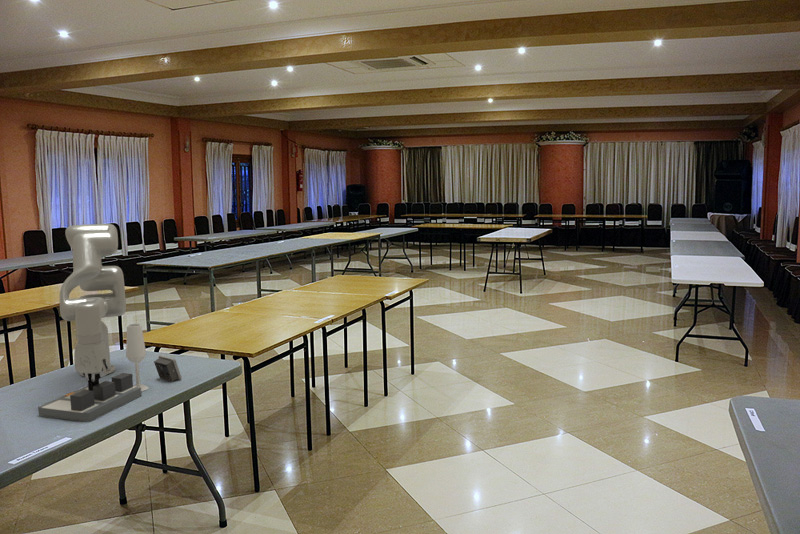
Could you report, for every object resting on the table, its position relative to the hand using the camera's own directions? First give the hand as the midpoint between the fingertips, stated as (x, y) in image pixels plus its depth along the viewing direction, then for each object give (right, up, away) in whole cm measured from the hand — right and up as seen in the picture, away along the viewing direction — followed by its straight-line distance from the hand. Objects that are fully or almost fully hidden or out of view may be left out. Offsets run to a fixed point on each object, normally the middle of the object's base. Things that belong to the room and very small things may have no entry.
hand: (94, 391), depth 201 cm
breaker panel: (-1, -5, +1) cm, 5 cm away
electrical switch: (+14, -1, +28) cm, 31 cm away
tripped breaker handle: (+4, -2, -1) cm, 4 cm away
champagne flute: (+7, -3, +17) cm, 19 cm away
